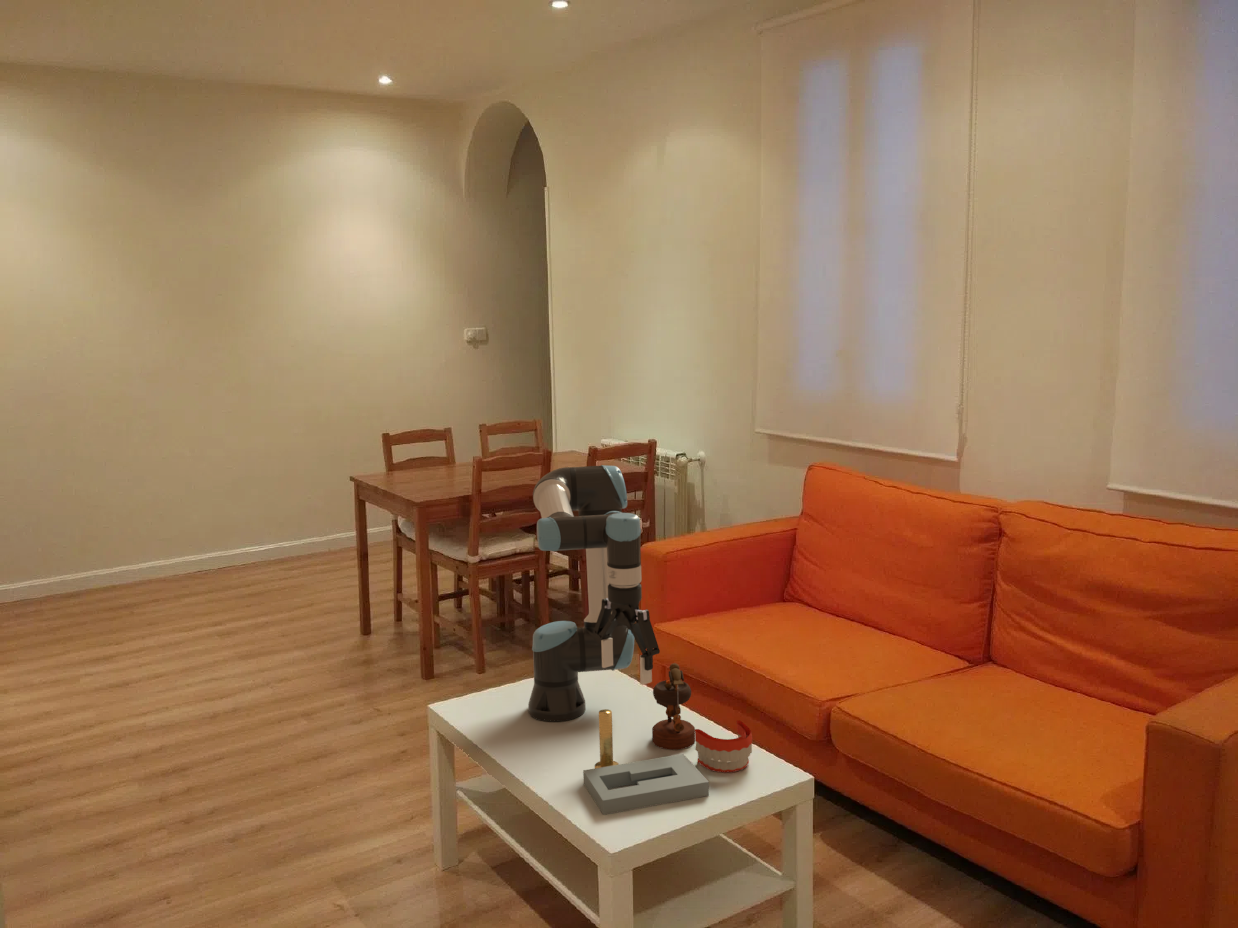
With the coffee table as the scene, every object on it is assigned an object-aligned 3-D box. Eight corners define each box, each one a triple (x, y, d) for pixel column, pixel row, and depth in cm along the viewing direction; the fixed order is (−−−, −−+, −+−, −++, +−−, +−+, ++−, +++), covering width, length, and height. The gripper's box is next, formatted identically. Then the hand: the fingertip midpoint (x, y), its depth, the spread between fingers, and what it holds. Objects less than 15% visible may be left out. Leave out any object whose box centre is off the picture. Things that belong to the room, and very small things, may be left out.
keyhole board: (583, 783, 227) (583, 770, 226) (683, 766, 234) (683, 753, 234) (603, 814, 213) (602, 800, 212) (708, 795, 220) (708, 781, 219)
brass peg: (591, 766, 235) (590, 709, 233) (614, 762, 237) (613, 705, 235) (598, 776, 230) (597, 718, 228) (622, 772, 232) (620, 714, 230)
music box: (708, 746, 244) (700, 668, 241) (667, 759, 240) (659, 680, 237) (679, 723, 258) (672, 649, 255) (640, 735, 254) (632, 660, 250)
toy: (715, 780, 227) (715, 746, 226) (693, 761, 237) (693, 729, 235) (763, 768, 232) (763, 735, 231) (740, 751, 241) (740, 719, 240)
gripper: (577, 575, 232) (579, 663, 235) (648, 599, 213) (650, 694, 216) (602, 569, 236) (605, 655, 240) (674, 591, 217) (676, 685, 221)
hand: (626, 674), depth 228 cm, fingers open, 13 cm apart
